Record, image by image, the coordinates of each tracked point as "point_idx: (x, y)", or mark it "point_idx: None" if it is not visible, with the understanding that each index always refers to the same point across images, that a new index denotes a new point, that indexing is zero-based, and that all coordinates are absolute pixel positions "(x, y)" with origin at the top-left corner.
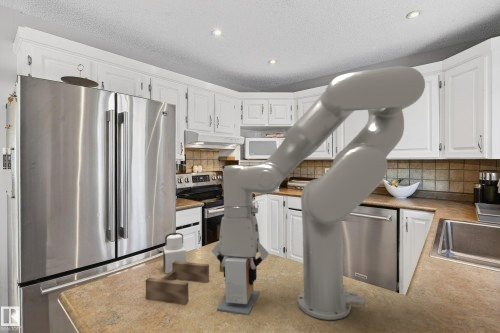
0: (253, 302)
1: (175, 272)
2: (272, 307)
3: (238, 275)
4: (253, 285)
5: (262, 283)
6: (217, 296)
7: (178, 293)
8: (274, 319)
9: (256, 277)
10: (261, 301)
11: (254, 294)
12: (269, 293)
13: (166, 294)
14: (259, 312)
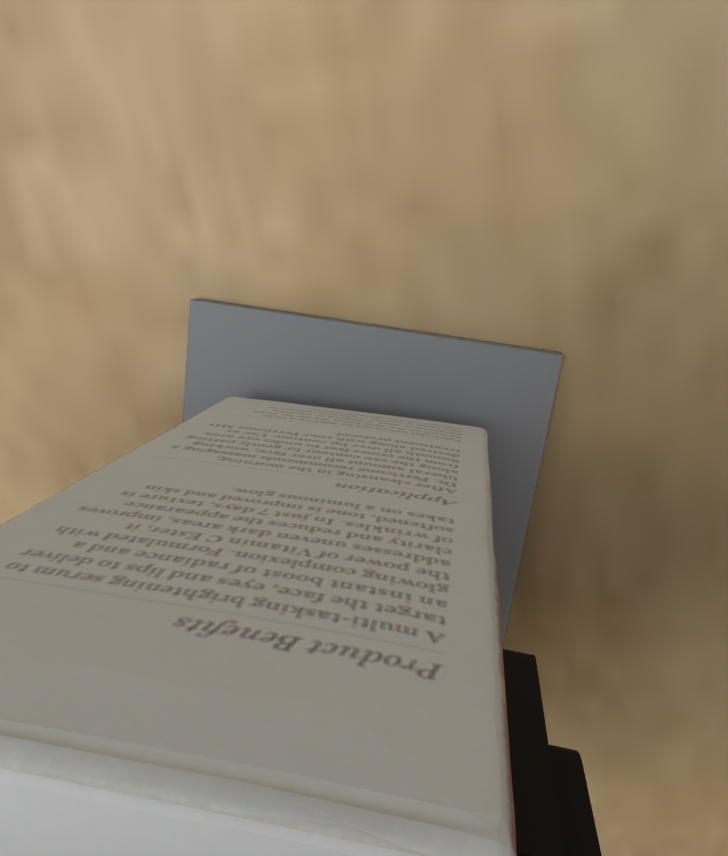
0: (502, 618)
1: None
2: (717, 659)
3: None
4: (487, 447)
5: (594, 60)
6: (82, 476)
7: None
8: (723, 838)
9: (576, 751)
10: (590, 551)
11: (499, 449)
12: (696, 362)
13: None
14: (574, 740)
